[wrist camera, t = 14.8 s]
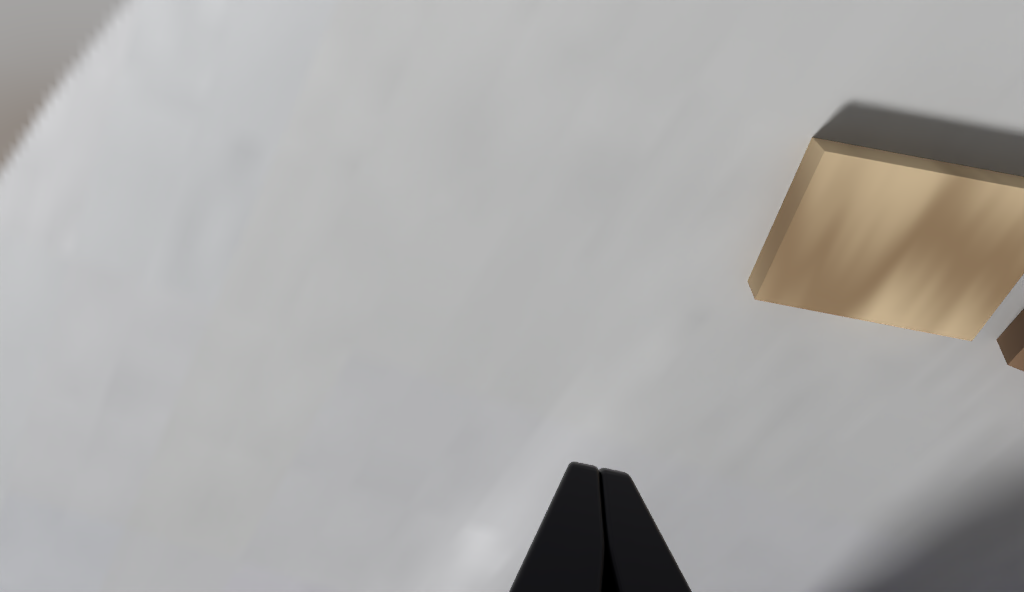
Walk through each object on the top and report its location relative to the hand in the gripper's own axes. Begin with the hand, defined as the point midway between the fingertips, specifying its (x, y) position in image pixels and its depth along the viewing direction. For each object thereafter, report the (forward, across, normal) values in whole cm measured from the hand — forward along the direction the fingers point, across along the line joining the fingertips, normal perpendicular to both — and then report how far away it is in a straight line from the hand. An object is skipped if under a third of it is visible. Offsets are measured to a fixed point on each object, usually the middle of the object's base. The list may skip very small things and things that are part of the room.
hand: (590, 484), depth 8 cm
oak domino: (+12, -6, 0) cm, 13 cm away
